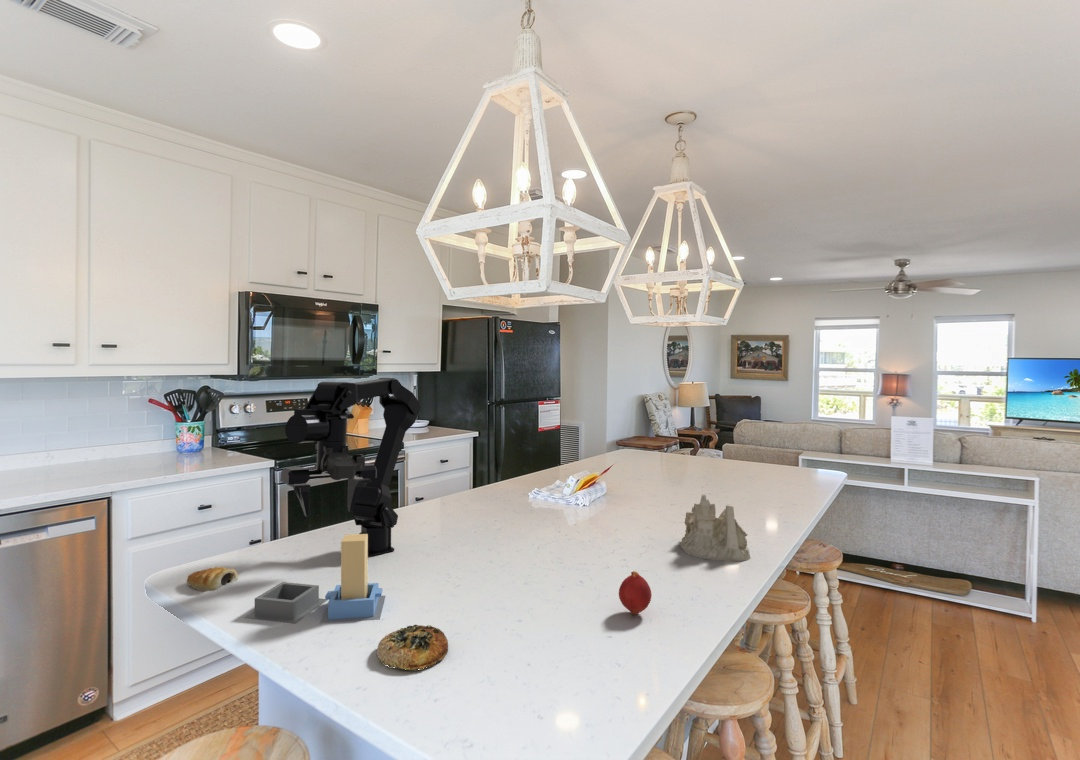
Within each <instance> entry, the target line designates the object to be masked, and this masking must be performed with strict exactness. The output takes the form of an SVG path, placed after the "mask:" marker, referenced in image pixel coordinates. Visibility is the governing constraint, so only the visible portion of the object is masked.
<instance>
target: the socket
mask: <svg viewBox="0 0 1080 760" xmlns="http://www.w3.org/2000/svg"><path fill="white" fill-rule="evenodd" d="M319 587H320V585H317V584H306V583H298V582H296V583H295V582H289V581H288V582H287V581H282V582H279V583H278V584H276V585H275V586H273V587H272V588H270V589H267V591H265V592H263V593H262V594H260V595H258V596H256V597H254V611H252V612H251V613H249V614H248V615H246V616H244V617H243V618H244V619H251V620H257V621H267V622H277V623H284V624H298V622H300V621H301V620H303V619H304V618H305V617H307V616H308V615H310V614H311V613H312V612H313V611H315V610H316V609H317V608H319V607H320V606H322V605H324V603H326V602H327V601H328V600H325V598H320V593H319V591H320V588H319Z"/></svg>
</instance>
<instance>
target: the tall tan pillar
mask: <svg viewBox="0 0 1080 760" xmlns="http://www.w3.org/2000/svg"><path fill="white" fill-rule="evenodd" d="M340 549H341V550H340V558H341V559H340V585H341V600H346V599H363V598H368V580H369V578H368V577H369V576H368V575H369V574H368V573H369V570H368V568H369V567H368V565H369V564H368V563H369V562H368V560H369V558H368V557H369V556H368V534H359V533H358V534H357V533H356V534H354V533H352V534H345V535H344V536H343V538H342V539H341V541H340Z"/></svg>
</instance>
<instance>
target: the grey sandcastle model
mask: <svg viewBox="0 0 1080 760" xmlns="http://www.w3.org/2000/svg"><path fill="white" fill-rule="evenodd" d="M693 504H694V505H693V506H692V507H691V511H686V512H685V518H684V525H685V531H684V532H685V533H684V536H683V537H682V538H681V542H680V549H682V550H683V551H684V552H685V553H686V554H688V555H690V556H693V557H696V558H700V559H703V560H704V559H705V560H712V561H713V560H714V561H725V562H727V561H729V562H746V561H749V560H751V558H752V557H751V554H750V549H749V547H748V539H747V538H746V537H747V536H748V535H749V534H748V533H747V532H746V531H745V530H744V529H743V528H742V527H741V525H740V524H739V523H738V522H737V520H736V518H735V512H734V505H732V504H726V505H725V508H724V509H723V511H722V512H721V513H720V515H719V516H718V517H716V516H717V515H716V513H717V512H716V503H711V502H710V500H709V498H707V495H706V494H701V497H700V502H699V503H697V502H695V503H693Z"/></svg>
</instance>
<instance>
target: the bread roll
mask: <svg viewBox="0 0 1080 760" xmlns="http://www.w3.org/2000/svg"><path fill="white" fill-rule="evenodd" d="M448 642H449V641H448V639H447V636H446V635H445V633H444V632H443V631H442V630H441V629H440V628H438V627H435V626H432V625H431V624H427V625H418V624H413V625H407V626H406V627H400V628H399V629H396V630H395V631H392V632H390V633H388V634H386V635H385V636H384V637H383V638H381V639H380V641H379V642H378V644H377V651H376V653H377V654H378V655H377V657H378V659H379V661H380V660H381V661H380V662H381V663H382V664H383V663H384V664H385V665H388V666H389V667H395V668H400V669H399V670H403V669H406V670H418V669H423V668H426V667H428V668H430V667H429V666H431V667H433V666H432V665H434V664H435V665H437V664H438V663H439V662H441V661H442V660H444V658H445V657H446V655H448V653H449V643H448ZM436 663H437V664H436ZM384 664H383V665H384ZM385 665H384V666H385ZM435 665H434V666H435ZM389 667H388V668H389ZM426 669H427V668H426ZM423 670H424V669H423Z"/></svg>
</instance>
